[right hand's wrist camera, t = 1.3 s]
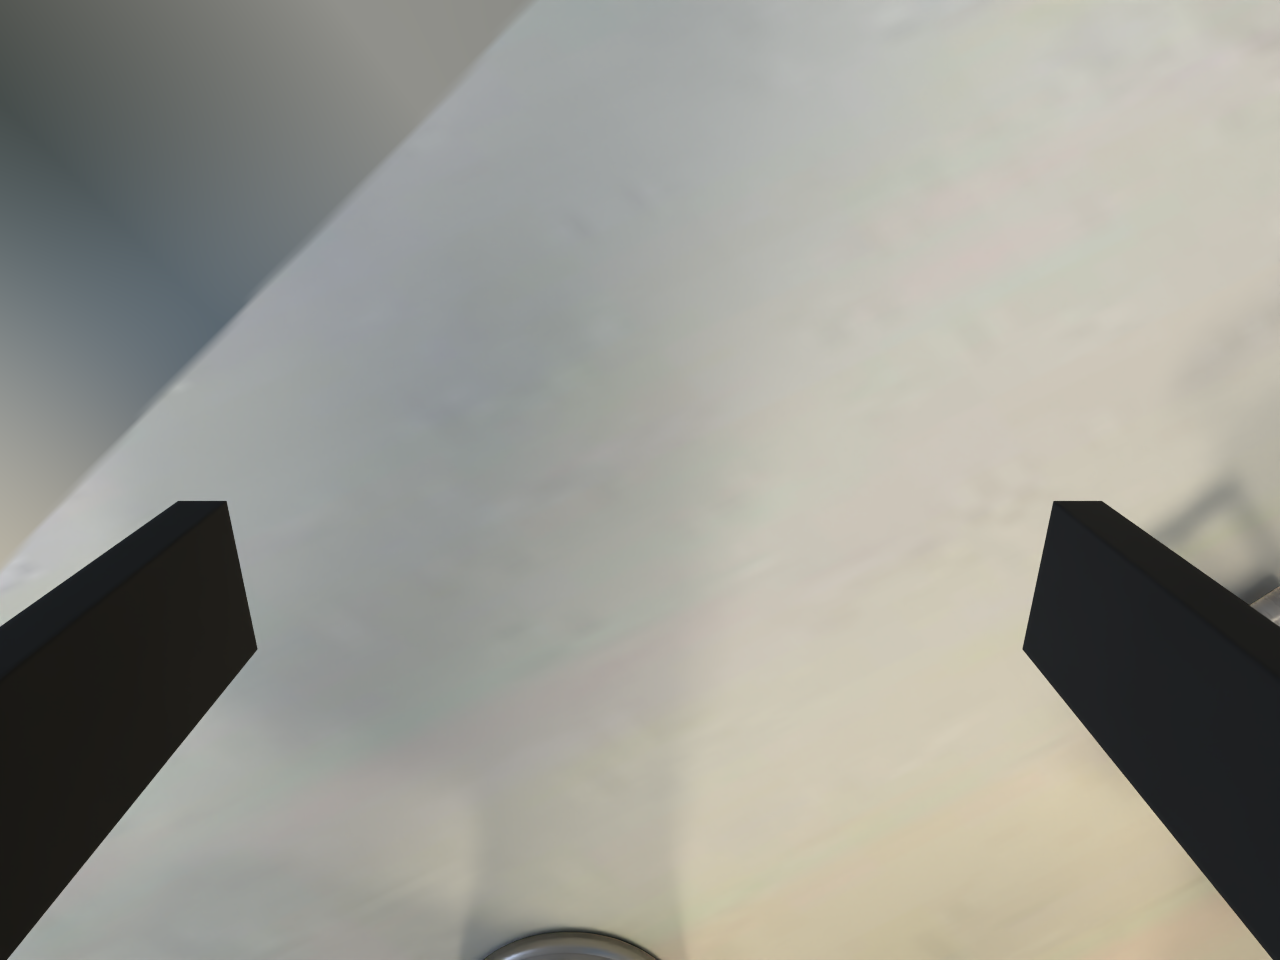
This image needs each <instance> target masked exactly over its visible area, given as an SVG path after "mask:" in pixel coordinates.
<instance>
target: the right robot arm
mask: <svg viewBox="0 0 1280 960" xmlns="http://www.w3.org/2000/svg"><path fill="white" fill-rule="evenodd" d="M256 650H257V645H256V640H255V635H254V630H253V626H252V621H251V616H250V611H249V606H248V602H247V597H246V592H245V587H244V583H243V578H242V573H241V568H240V563H239V559H238V554H237V549H236V544H235V540H234V535H233V530H232V525H231V520H230V516H229V511H228V506H227V501H178V502H176V503H175V504H173V505H172V506H171V507H169V508H168V509H166V510H165V511H163V512H162V513H161V514H159V515H158V516H156V517H155V518H154V519H152V520H151V521H149V522H148V523H146V524H145V525H144V526H142V527H141V528H139V529H138V530H137V531H135V532H134V533H132V534H131V535H129V536H128V537H127V538H125V539H124V540H122V541H121V542H120V543H118V544H117V545H115V546H114V547H112V548H111V549H110V550H108V551H107V552H105V553H104V554H103V555H101V556H100V557H98V558H97V559H95V560H94V561H93V562H91V563H90V564H88V565H87V566H86V567H84V568H83V569H81V570H80V571H78V572H77V573H76V574H74V575H73V576H71V577H70V578H69V579H67V580H66V581H64V582H63V583H61V584H60V585H59V586H57V587H56V588H54V589H53V590H52V591H50V592H49V593H47V594H46V595H44V596H43V597H42V598H40V599H39V600H37V601H36V602H35V603H33V604H32V605H30V606H29V607H27V608H26V609H25V610H23V611H22V612H20V613H19V614H18V615H16V616H15V617H13V618H12V619H10V620H9V621H8V622H6V623H5V624H3V625H2V626H1V627H0V960H7V959H8V958H9V957H10V955H11V954H12V953H13V952H14V950H15V949H16V948H17V947H18V945H19V944H20V943H21V942H22V940H23V939H24V938H25V937H26V935H27V934H28V933H29V932H30V931H31V929H32V928H33V927H34V926H35V924H36V923H37V922H38V921H39V919H40V918H41V917H42V916H43V914H44V913H45V912H46V911H47V909H48V908H49V907H50V906H51V904H52V903H53V902H54V901H55V900H56V898H57V897H58V896H59V895H60V893H61V892H62V891H63V890H64V888H65V887H66V886H67V885H68V883H69V882H70V881H71V880H72V878H73V877H74V876H75V875H76V873H77V872H78V871H79V870H80V869H81V867H82V866H83V865H84V864H85V862H86V861H87V860H88V859H89V857H90V856H91V855H92V854H93V852H94V851H95V850H96V849H97V847H98V846H99V845H100V844H101V843H102V841H103V840H104V839H105V838H106V836H107V835H108V834H109V833H110V831H111V830H112V829H113V828H114V826H115V825H116V824H117V823H118V821H119V820H120V819H121V818H122V816H123V815H124V814H125V813H126V812H127V810H128V809H129V808H130V807H131V805H132V804H133V803H134V802H135V800H136V799H137V798H138V797H139V795H140V794H141V793H142V792H143V790H144V789H145V788H146V787H147V785H148V784H149V783H150V782H151V781H152V779H153V778H154V777H155V776H156V774H157V773H158V772H159V771H160V769H161V768H162V767H163V766H164V764H165V763H166V762H167V761H168V759H169V758H170V757H171V756H172V754H173V753H174V752H175V751H176V750H177V748H178V747H179V746H180V745H181V743H182V742H183V741H184V740H185V738H186V737H187V736H188V735H189V733H190V732H191V731H192V730H193V728H194V727H195V726H196V725H197V724H198V722H199V721H200V720H201V719H202V717H203V716H204V715H205V714H206V712H207V711H208V710H209V709H210V707H211V706H212V705H213V704H214V702H215V701H216V700H217V699H218V697H219V696H220V695H221V694H222V693H223V691H224V690H225V689H226V688H227V686H228V685H229V684H230V683H231V681H232V680H233V679H234V678H235V676H236V675H237V674H238V673H239V671H240V670H241V669H242V668H243V666H244V665H245V664H246V663H247V662H248V660H249V659H250V658H251V657H252V655H253V654H254V653H255V652H256ZM1023 650H1024V652H1025V653H1026V654H1027V655H1028V657H1029V658H1030V659H1031V660H1032V662H1033V663H1034V664H1035V665H1036V666H1037V668H1038V669H1039V670H1040V671H1041V673H1042V674H1043V675H1044V676H1045V678H1046V679H1047V680H1048V681H1049V683H1050V684H1051V685H1052V686H1053V688H1054V689H1055V690H1056V691H1057V693H1058V694H1059V695H1060V696H1061V697H1062V699H1063V700H1064V701H1065V702H1066V704H1067V705H1068V706H1069V707H1070V709H1071V710H1072V711H1073V712H1074V714H1075V715H1076V716H1077V717H1078V719H1079V720H1080V721H1081V722H1082V724H1083V725H1084V726H1085V727H1086V728H1087V730H1088V731H1089V732H1090V733H1091V735H1092V736H1093V737H1094V738H1095V740H1096V741H1097V742H1098V743H1099V745H1100V746H1101V747H1102V748H1103V750H1104V751H1105V752H1106V753H1107V754H1108V756H1109V757H1110V758H1111V759H1112V761H1113V762H1114V763H1115V764H1116V766H1117V767H1118V768H1119V769H1120V771H1121V772H1122V773H1123V774H1124V776H1125V777H1126V778H1127V779H1128V781H1129V782H1130V783H1131V784H1132V785H1133V787H1134V788H1135V789H1136V790H1137V792H1138V793H1139V794H1140V795H1141V797H1142V798H1143V799H1144V800H1145V802H1146V803H1147V804H1148V805H1149V807H1150V808H1151V809H1152V810H1153V812H1154V813H1155V814H1156V815H1157V816H1158V818H1159V819H1160V820H1161V821H1162V823H1163V824H1164V825H1165V826H1166V828H1167V829H1168V830H1169V831H1170V833H1171V834H1172V835H1173V836H1174V838H1175V839H1176V840H1177V841H1178V843H1179V844H1180V845H1181V846H1182V847H1183V849H1184V850H1185V851H1186V852H1187V854H1188V855H1189V856H1190V857H1191V859H1192V860H1193V861H1194V862H1195V864H1196V865H1197V866H1198V867H1199V869H1200V870H1201V871H1202V872H1203V873H1204V875H1205V876H1206V877H1207V878H1208V880H1209V881H1210V882H1211V883H1212V885H1213V886H1214V887H1215V888H1216V890H1217V891H1218V892H1219V893H1220V895H1221V896H1222V897H1223V898H1224V900H1225V901H1226V902H1227V903H1228V904H1229V906H1230V907H1231V908H1232V909H1233V911H1234V912H1235V913H1236V914H1237V916H1238V917H1239V918H1240V919H1241V921H1242V922H1243V923H1244V924H1245V926H1246V927H1247V928H1248V929H1249V931H1250V932H1251V933H1252V934H1253V935H1254V937H1255V938H1256V939H1257V940H1258V942H1259V943H1260V944H1261V945H1262V947H1263V948H1264V949H1265V950H1266V952H1267V953H1268V954H1269V955H1270V957H1271V958H1272V959H1273V960H1280V627H1279V626H1278V625H1277V624H1275V623H1274V622H1272V621H1271V620H1270V619H1268V618H1267V617H1265V616H1264V615H1262V614H1261V613H1260V612H1258V611H1257V610H1255V609H1254V608H1253V607H1251V606H1250V605H1248V604H1247V603H1245V602H1244V601H1243V600H1241V599H1240V598H1238V597H1237V596H1236V595H1234V594H1233V593H1231V592H1230V591H1228V590H1227V589H1226V588H1224V587H1223V586H1221V585H1220V584H1219V583H1217V582H1216V581H1214V580H1213V579H1211V578H1210V577H1209V576H1207V575H1206V574H1204V573H1203V572H1202V571H1200V570H1199V569H1197V568H1196V567H1194V566H1193V565H1192V564H1190V563H1189V562H1187V561H1186V560H1185V559H1183V558H1182V557H1180V556H1179V555H1177V554H1176V553H1175V552H1173V551H1172V550H1170V549H1169V548H1168V547H1166V546H1165V545H1163V544H1162V543H1160V542H1159V541H1158V540H1156V539H1155V538H1153V537H1152V536H1151V535H1149V534H1148V533H1146V532H1145V531H1143V530H1142V529H1141V528H1139V527H1138V526H1136V525H1135V524H1134V523H1132V522H1131V521H1129V520H1128V519H1126V518H1125V517H1124V516H1122V515H1121V514H1119V513H1118V512H1117V511H1115V510H1114V509H1112V508H1111V507H1109V506H1108V505H1107V504H1105V503H1104V502H1102V501H1053V506H1052V511H1051V516H1050V520H1049V525H1048V530H1047V535H1046V540H1045V544H1044V549H1043V554H1042V559H1041V563H1040V568H1039V573H1038V578H1037V583H1036V587H1035V592H1034V597H1033V602H1032V606H1031V611H1030V616H1029V621H1028V626H1027V630H1026V635H1025V640H1024V645H1023ZM484 960H656V959H655V958H654V957H652V956H651V955H649V954H648V953H646V952H645V951H643V950H641V949H639V948H637V947H635V946H633V945H631V944H628V943H626V942H623V941H620V940H618V939H614V938H611V937H607V936H602V935H597V934H591V933H582V932H556V933H547V934H541V935H535V936H531V937H527V938H524V939H521V940H518V941H515V942H513V943H510V944H508V945H506V946H504V947H502V948H500V949H498V950H497V951H495V952H494V953H492V954H491V955H489V956H488V957H487V958H485V959H484Z"/></svg>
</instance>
